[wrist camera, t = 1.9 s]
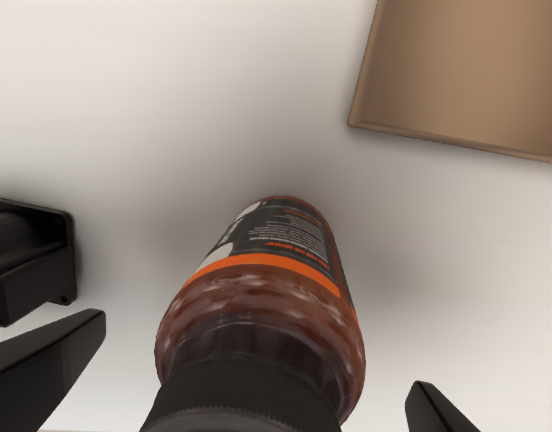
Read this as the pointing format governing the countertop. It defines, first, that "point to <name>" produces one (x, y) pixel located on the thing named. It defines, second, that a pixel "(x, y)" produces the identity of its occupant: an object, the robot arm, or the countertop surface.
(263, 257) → the supplement bottle
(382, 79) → the walnut block
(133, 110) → the countertop surface
